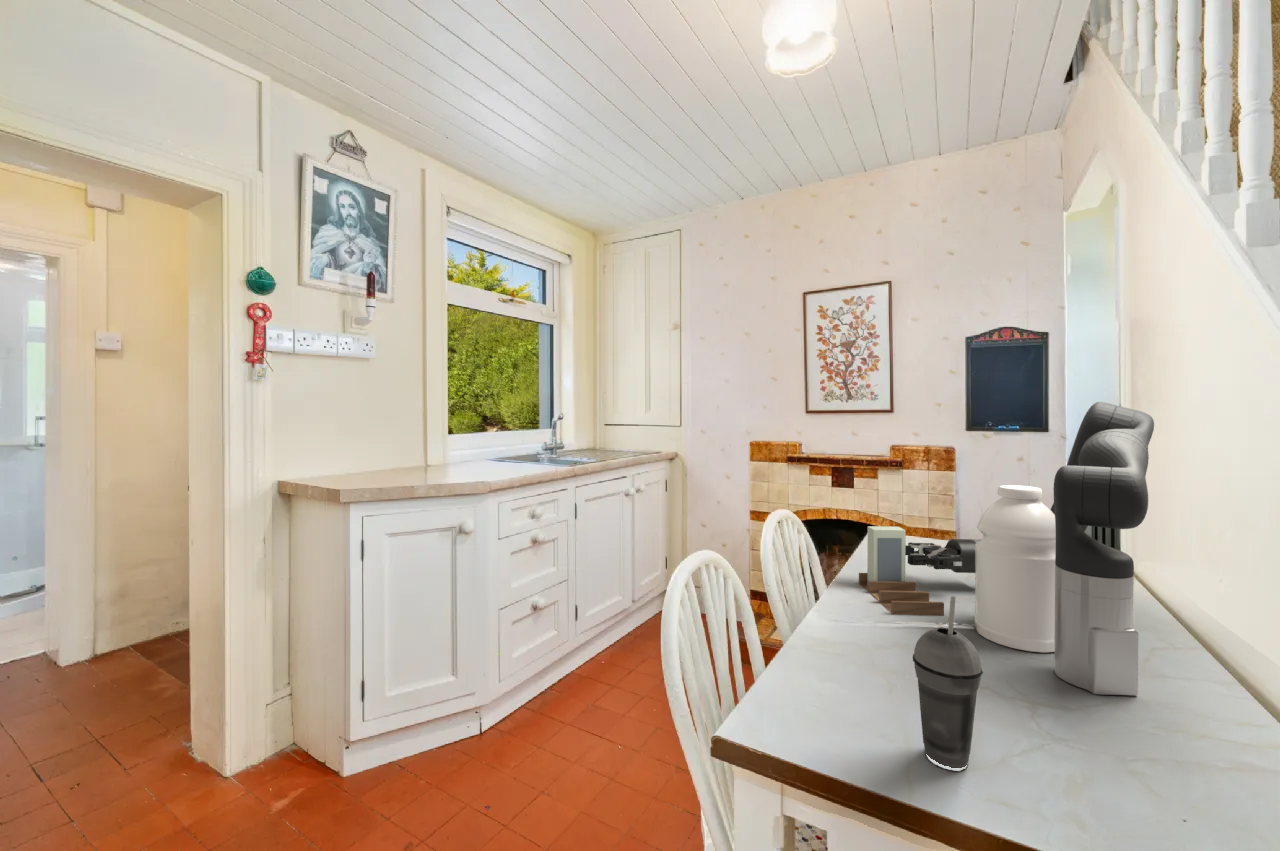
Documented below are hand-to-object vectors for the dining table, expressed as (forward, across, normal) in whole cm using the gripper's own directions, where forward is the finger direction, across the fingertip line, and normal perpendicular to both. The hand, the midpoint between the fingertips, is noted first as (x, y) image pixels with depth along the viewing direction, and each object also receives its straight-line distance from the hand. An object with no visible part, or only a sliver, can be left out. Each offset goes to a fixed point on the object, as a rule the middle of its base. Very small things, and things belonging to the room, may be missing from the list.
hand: (900, 554), depth 122 cm
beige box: (+3, 0, +8) cm, 8 cm away
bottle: (-12, +24, +9) cm, 28 cm away
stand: (+3, +7, +9) cm, 12 cm away
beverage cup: (+19, +61, +9) cm, 64 cm away
